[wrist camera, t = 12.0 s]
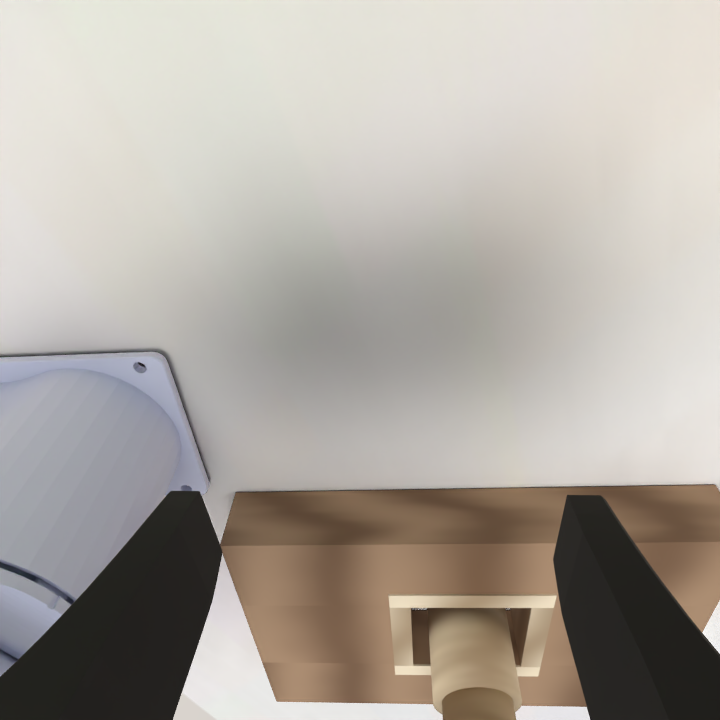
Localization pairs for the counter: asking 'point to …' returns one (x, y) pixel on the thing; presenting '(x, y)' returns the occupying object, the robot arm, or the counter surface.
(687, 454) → the counter surface
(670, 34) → the counter surface
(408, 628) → the socket board
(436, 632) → the beech peg
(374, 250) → the counter surface
